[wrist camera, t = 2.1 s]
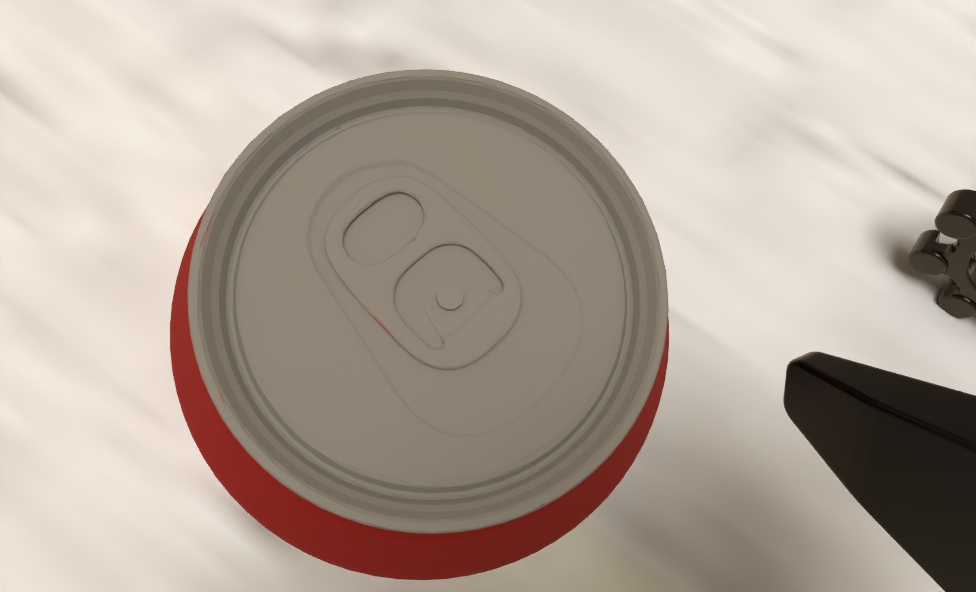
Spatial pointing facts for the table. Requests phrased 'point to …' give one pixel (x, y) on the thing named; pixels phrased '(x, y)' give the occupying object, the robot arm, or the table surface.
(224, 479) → the beverage can
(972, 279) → the valve
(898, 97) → the table surface
